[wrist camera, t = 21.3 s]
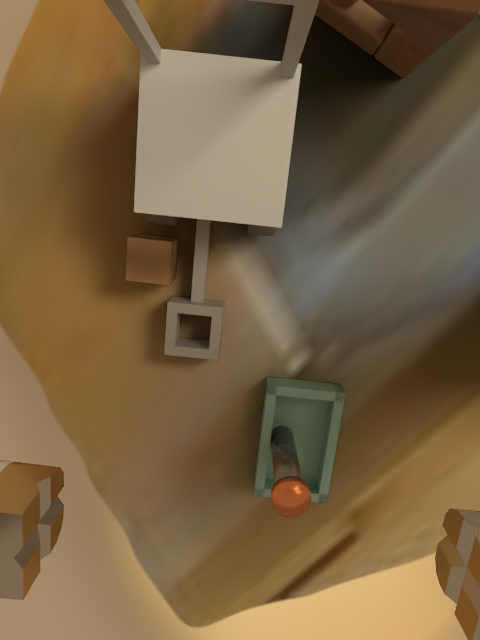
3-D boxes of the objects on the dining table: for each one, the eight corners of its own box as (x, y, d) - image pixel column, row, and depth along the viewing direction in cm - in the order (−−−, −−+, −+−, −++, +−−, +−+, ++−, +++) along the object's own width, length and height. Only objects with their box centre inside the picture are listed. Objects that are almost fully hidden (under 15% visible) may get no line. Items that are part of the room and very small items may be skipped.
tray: (340, 384, 48) (345, 393, 46) (322, 489, 51) (326, 503, 49) (266, 376, 48) (267, 385, 46) (253, 482, 51) (253, 495, 49)
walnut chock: (175, 278, 46) (168, 285, 42) (137, 273, 46) (125, 280, 41) (178, 238, 45) (171, 242, 41) (139, 234, 45) (127, 236, 40)
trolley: (292, 80, 41) (337, -51, 20) (260, 355, 48) (268, 468, 27) (163, 66, 41) (74, -80, 20) (147, 343, 48) (68, 447, 27)
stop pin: (299, 424, 49) (313, 484, 38) (294, 452, 50) (308, 518, 39) (268, 421, 49) (274, 480, 38) (264, 449, 50) (269, 515, 39)
